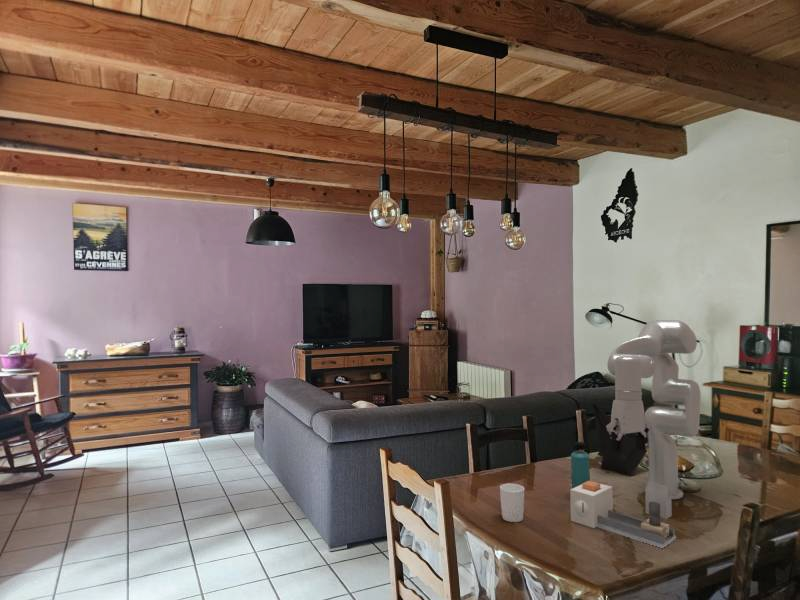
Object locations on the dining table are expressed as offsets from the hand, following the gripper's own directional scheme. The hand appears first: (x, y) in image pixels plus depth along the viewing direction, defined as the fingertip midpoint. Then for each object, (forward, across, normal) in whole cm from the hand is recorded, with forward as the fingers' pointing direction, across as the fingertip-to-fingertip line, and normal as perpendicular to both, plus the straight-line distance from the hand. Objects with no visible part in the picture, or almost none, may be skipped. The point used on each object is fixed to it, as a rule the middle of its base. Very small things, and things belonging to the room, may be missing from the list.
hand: (629, 451), depth 161 cm
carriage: (+22, -1, +9) cm, 24 cm away
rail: (+24, +1, +3) cm, 24 cm away
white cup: (+24, +28, -22) cm, 43 cm away
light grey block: (+24, -17, -4) cm, 29 cm away
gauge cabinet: (+24, +6, -10) cm, 27 cm away
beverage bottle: (+24, -4, -26) cm, 35 cm away
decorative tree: (+22, -37, -43) cm, 61 cm away
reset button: (+16, +6, -10) cm, 20 cm away
